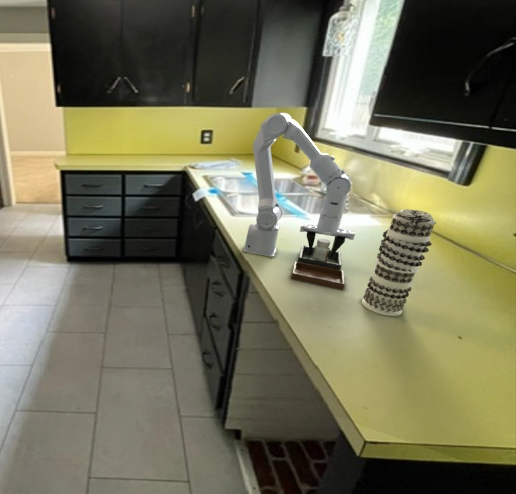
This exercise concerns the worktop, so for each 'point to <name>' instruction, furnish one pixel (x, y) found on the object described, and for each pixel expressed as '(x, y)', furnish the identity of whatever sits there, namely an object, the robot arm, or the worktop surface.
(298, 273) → the tray
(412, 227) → the decorative candle
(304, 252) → the dark grey square frame
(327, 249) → the pill bottle
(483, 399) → the worktop surface
